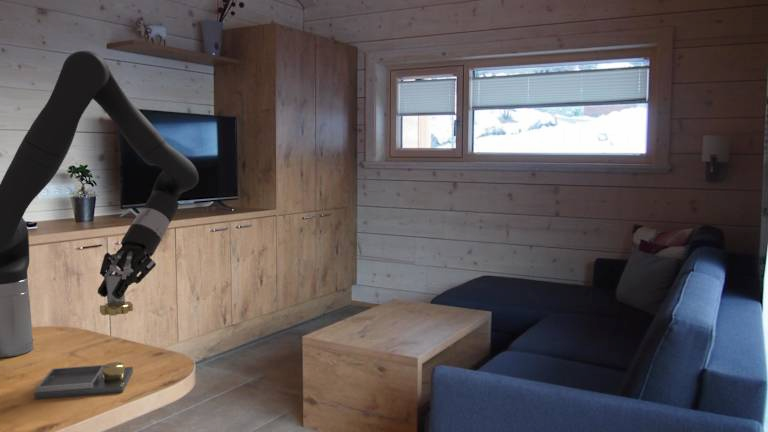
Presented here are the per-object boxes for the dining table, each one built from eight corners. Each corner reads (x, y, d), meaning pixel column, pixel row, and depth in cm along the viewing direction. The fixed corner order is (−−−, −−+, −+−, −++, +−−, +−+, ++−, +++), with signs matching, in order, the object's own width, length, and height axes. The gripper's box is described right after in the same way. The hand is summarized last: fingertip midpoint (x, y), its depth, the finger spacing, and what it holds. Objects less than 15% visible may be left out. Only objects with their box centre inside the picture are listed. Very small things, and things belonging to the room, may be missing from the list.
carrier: (35, 399, 126) (33, 380, 125) (52, 378, 137) (51, 361, 136) (122, 392, 129) (121, 374, 128) (133, 372, 140) (131, 355, 139)
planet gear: (97, 316, 140) (94, 280, 139) (103, 308, 146) (101, 273, 145) (129, 314, 141) (127, 278, 140) (135, 306, 148) (133, 271, 147)
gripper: (113, 221, 151) (73, 283, 141) (161, 224, 145) (122, 290, 136) (132, 240, 156) (94, 301, 147) (179, 243, 151) (143, 308, 141)
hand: (108, 295), depth 141 cm, fingers closed on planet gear, 3 cm apart
